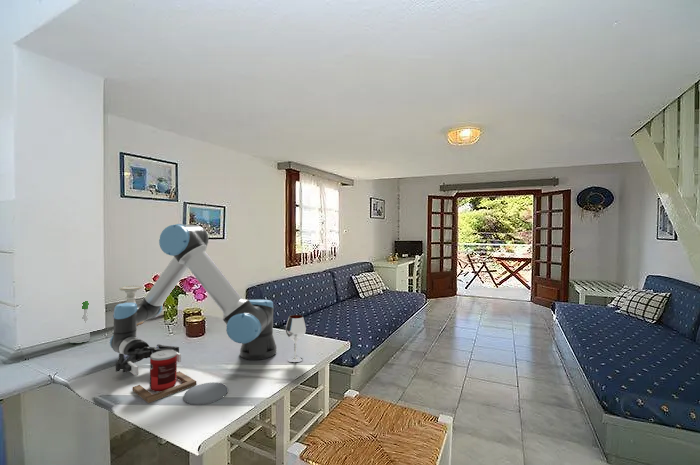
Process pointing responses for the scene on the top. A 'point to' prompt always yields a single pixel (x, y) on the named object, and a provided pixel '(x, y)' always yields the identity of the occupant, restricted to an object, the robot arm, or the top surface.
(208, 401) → the slate mat
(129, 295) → the candle holder
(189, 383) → the walnut cradle
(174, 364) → the canned food
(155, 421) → the top surface
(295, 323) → the wineglass
